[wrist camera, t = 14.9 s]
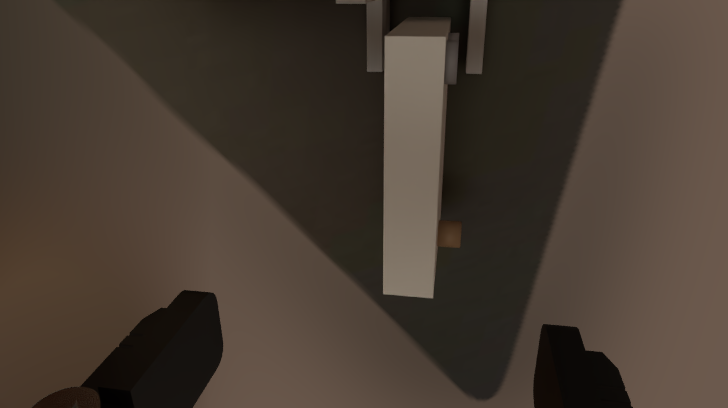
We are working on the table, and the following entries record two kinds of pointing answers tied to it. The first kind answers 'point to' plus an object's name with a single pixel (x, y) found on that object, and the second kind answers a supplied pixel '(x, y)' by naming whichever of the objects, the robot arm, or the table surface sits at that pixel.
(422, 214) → the door
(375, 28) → the cabinet
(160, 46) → the table surface
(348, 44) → the table surface
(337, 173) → the table surface
